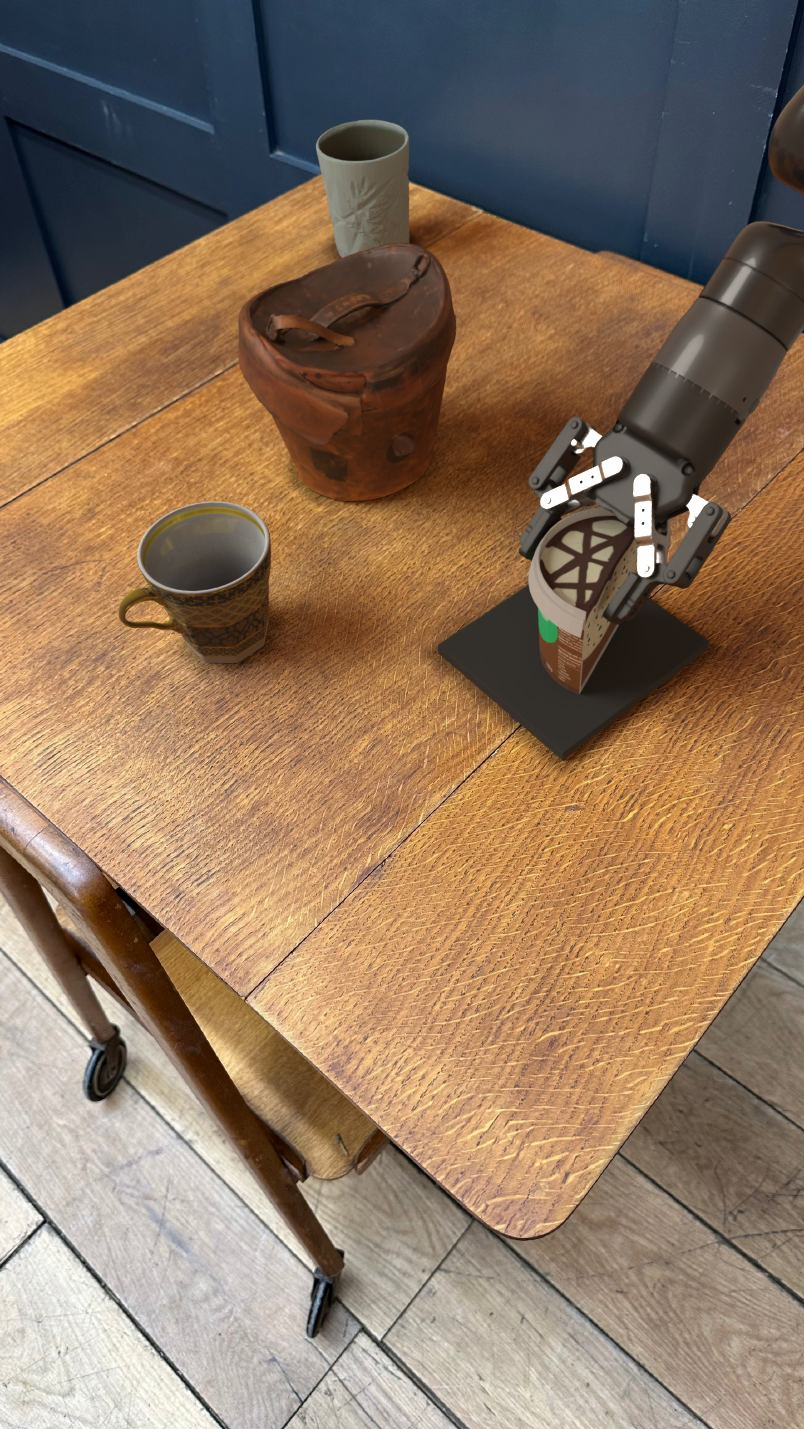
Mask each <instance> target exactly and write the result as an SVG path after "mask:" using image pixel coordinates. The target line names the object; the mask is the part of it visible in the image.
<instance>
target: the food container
mask: <svg viewBox="0 0 804 1429" xmlns="http://www.w3.org/2000/svg"><path fill="white" fill-rule="evenodd" d="M637 551H638V547H637V543H636V541H635V528H633V527H631V526H629V525H627V524H625V523H624V522H622V521H621V520H619V519H618V518H617V516H616V515H615V514H614V513H612V512H610V511H608V510H606V509H604V508H602V507H600V506H595V507H589V508H585V509H581V510H579V511H576V512H574V513H571V514H569V515H567V516H565V517H564V518H562V520H561V521H559V522H558V523H557V524H555V525H554V526H553V527H552V528H551V529H550V530H549V531H548V532H547V534H546V535H545V536H544V538H543V539H542V540H541V542H540V543H539V545H538V547H537V549H536V551H535V554H534V557H533V560H532V561H531V563H530V566H529V570H528V578H527V579H528V580H527V582H528V584H529V589H530V593H531V595H532V598H533V600H534V602H535V603H536V605H537V607H538V620H539V649H540V657H541V661H542V663H543V665H544V667H545V669H546V670H547V672H548V673H549V675H550V676H551V677H552V678H553V679H554V680H555V681H556V682H558V683H559V684H560V685H561V686H563V687H565V688H566V689H568V690H570V691H572V692H574V693H576V694H580V692H581V691H582V689H583V687H584V685H585V684H586V682H587V680H588V678H589V677H590V675H591V673H592V671H593V670H594V668H595V666H596V664H597V663H598V661H599V659H600V657H601V656H602V654H603V652H604V650H605V649H606V647H607V645H608V643H609V642H610V640H611V638H612V636H613V635H614V633H615V631H616V629H617V628H618V626H619V625H617V624H614V623H611V622H609V621H608V620H606V619H605V618H604V617H603V612H604V611H605V609H606V608H607V606H608V605H609V603H610V602H611V600H612V599H613V597H614V596H615V594H616V593H617V591H618V590H619V588H620V587H621V585H622V584H623V583H624V581H625V580H626V578H627V577H628V575H629V574H630V572H633V573H635V571H636V568H637Z"/></svg>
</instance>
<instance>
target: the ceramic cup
mask: <svg viewBox="0 0 804 1429" xmlns="http://www.w3.org/2000/svg"><path fill="white" fill-rule="evenodd" d="M271 541H272V540H271V534H270V530H269V528H268V526H267V524H266V522H265V521H264V520H263V519H262V517H261V516H260V515H259V514H258V513H256V512H255V511H254V510H252V509H250V508H248V507H246V506H243V505H241V504H237V503H234V502H230V501H229V502H228V501H221V500H218V501H216V500H214V501H213V500H212V501H211V500H210V501H201V502H200V501H199V502H196V503H190V504H187V505H184V506H181V507H178V508H177V509H174V510H172V511H170V512H168V513H166V514H165V515H163V516H161V517H160V518H159V519H157V520H156V521H155V522H154V523H153V524H152V525H150V526H149V527H148V529H146V531H145V533H144V534H143V535H142V537H141V539H140V541H139V544H138V546H137V552H136V561H137V566H138V569H139V571H140V572H141V574H142V576H143V578H144V580H145V582H146V583H147V587H140V588H135V589H134V590H131V591H130V592H128V593H127V594H126V595H125V596H124V597H123V599H121V601H120V603H119V607H118V618H119V621H120V622H121V623H122V624H123V625H124V626H126V627H128V628H132V629H156V630H161V631H173V632H175V633H177V634H179V635H181V637H182V638H183V640H184V642H185V644H186V645H187V646H188V647H189V648H190V650H192V651H193V653H195V655H197V656H198V657H199V658H200V659H201V660H202V661H203V662H204V663H209V664H238V663H240V662H241V661H244V660H245V659H246V658H248V657H249V656H251V655H252V654H254V653H255V652H257V651H258V650H260V649H261V648H262V647H264V645H265V642H266V637H267V632H268V627H269V621H270V617H269V616H270V606H269V605H270V604H269V602H270V577H271V569H272V568H271V567H272V542H271ZM143 602H155V603H156V604H158V605H160V606H162V607H163V608H164V610H165V611H166V613H167V615H168V616H169V619H168V621H166V622H162V623H161V622H156V621H151V620H149V621H148V620H147V621H145V620H144V621H143V620H142V621H141V620H140V621H139V620H138V621H130V620H127V618H126V615H127V613H128V611H129V610H130V609H131V608H132V607H134V606H135V605H138V604H139V603H143Z"/></svg>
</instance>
